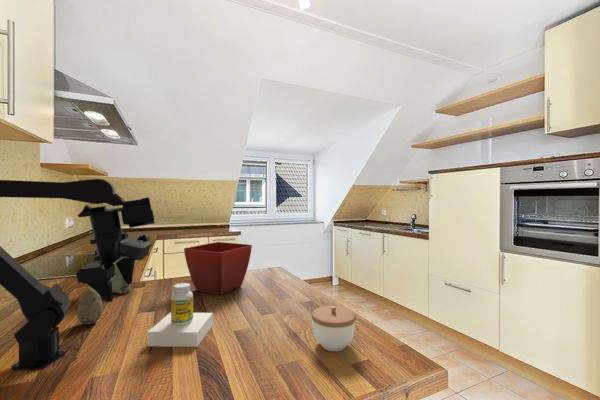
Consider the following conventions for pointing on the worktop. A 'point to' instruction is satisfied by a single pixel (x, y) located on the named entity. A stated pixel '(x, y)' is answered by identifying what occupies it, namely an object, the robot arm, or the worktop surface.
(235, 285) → the plant pot
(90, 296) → the decorative egg
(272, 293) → the worktop surface
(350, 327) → the lidded jar
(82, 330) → the worktop surface
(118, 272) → the pouch
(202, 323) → the podium
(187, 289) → the supplement bottle
